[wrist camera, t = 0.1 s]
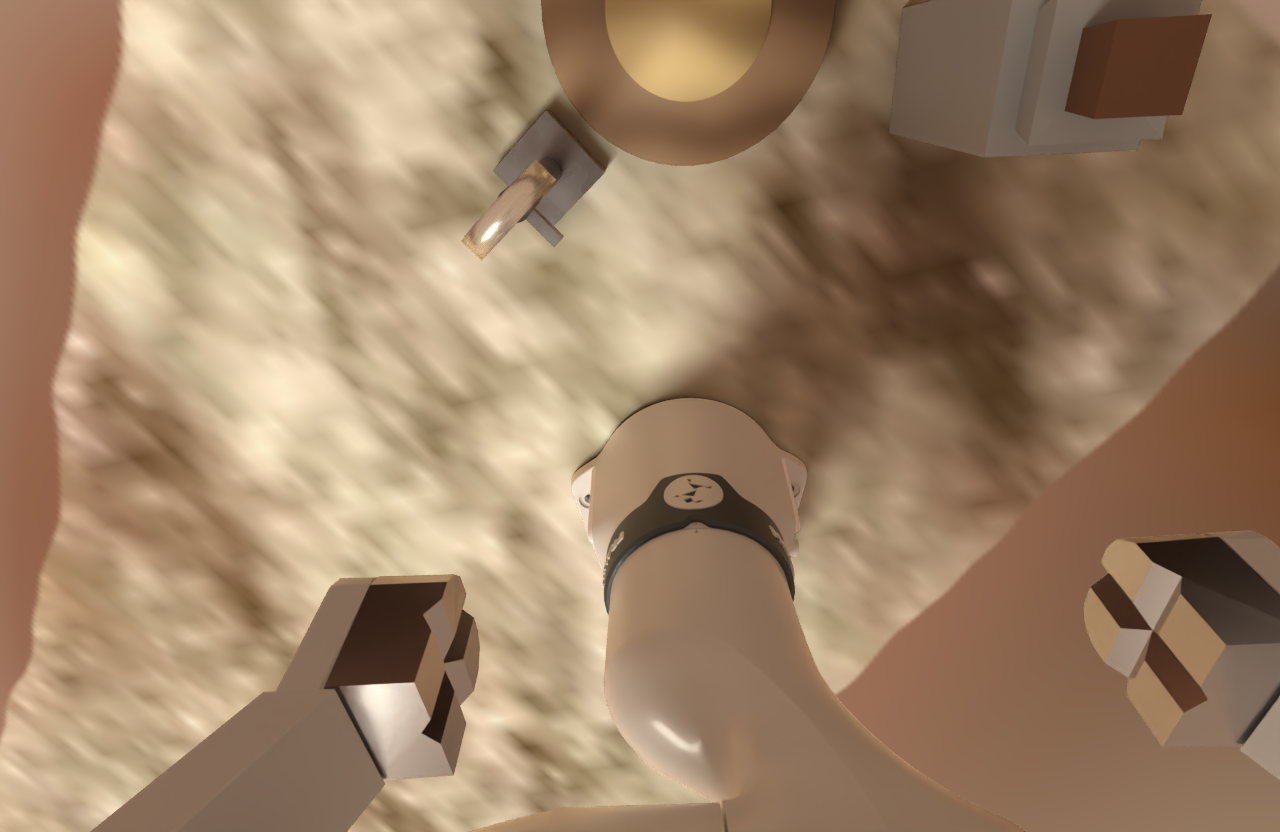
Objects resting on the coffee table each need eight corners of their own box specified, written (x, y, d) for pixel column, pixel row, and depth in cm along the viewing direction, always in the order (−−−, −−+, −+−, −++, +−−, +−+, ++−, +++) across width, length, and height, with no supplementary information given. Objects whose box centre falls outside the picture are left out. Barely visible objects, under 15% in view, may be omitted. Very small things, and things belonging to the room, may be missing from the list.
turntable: (817, 151, 42) (828, 156, 39) (564, 169, 42) (559, 175, 40) (834, -179, 34) (848, -198, 32) (528, -150, 35) (519, -167, 33)
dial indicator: (607, 172, 43) (584, 226, 28) (555, 227, 45) (507, 305, 30) (548, 109, 42) (490, 130, 26) (496, 168, 43) (413, 219, 28)
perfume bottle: (888, 133, 42) (1035, 170, 26) (903, 8, 39) (1079, -38, 23) (997, 127, 42) (1214, 162, 26) (1020, 1, 39) (1282, -49, 23)
